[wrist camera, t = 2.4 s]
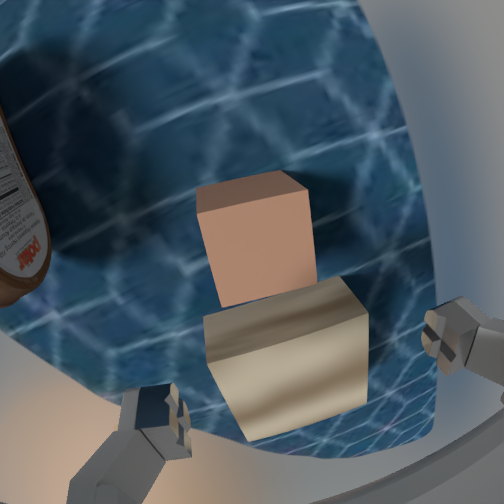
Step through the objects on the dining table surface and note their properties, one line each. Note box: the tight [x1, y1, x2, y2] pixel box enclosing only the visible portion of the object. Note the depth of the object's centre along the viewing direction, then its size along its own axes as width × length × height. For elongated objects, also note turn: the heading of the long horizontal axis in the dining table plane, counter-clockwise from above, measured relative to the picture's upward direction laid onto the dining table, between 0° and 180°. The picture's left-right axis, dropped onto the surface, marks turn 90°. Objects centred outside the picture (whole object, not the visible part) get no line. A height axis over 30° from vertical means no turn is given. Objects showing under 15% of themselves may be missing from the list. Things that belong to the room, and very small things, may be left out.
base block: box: [203, 275, 369, 442], centre depth 22 cm, size 10×10×5 cm
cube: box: [197, 170, 317, 307], centre depth 17 cm, size 5×5×5 cm
